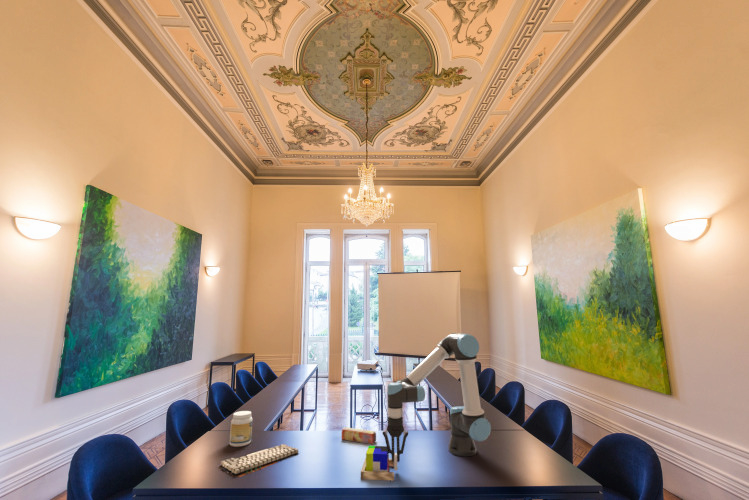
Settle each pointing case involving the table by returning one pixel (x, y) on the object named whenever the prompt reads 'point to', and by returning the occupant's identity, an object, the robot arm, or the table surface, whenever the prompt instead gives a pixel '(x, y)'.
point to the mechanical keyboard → (257, 460)
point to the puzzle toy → (377, 459)
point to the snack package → (358, 435)
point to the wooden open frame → (377, 473)
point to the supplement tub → (241, 429)
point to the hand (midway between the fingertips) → (395, 468)
